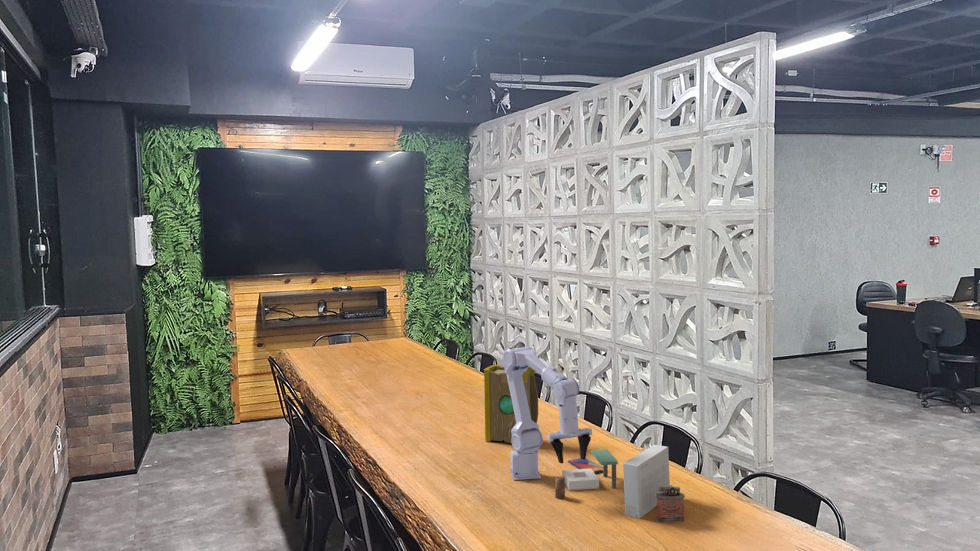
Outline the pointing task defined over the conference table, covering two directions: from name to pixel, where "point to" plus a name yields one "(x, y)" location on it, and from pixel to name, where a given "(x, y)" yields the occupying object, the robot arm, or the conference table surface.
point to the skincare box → (645, 480)
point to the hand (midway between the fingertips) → (572, 460)
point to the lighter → (670, 504)
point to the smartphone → (586, 465)
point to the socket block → (580, 479)
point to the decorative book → (505, 403)
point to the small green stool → (606, 463)
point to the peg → (560, 487)
